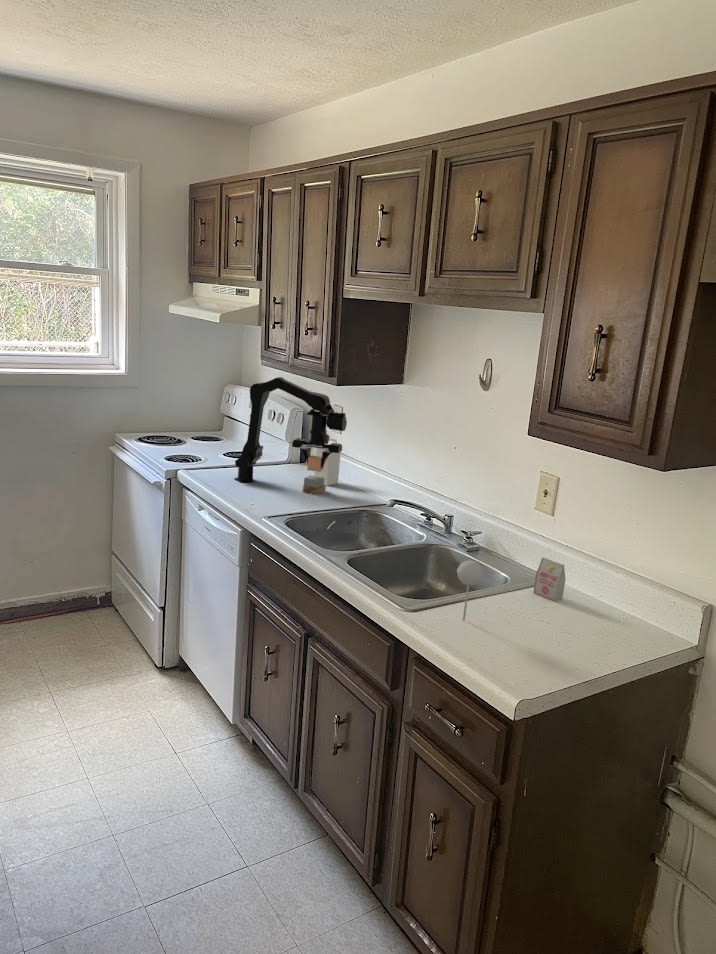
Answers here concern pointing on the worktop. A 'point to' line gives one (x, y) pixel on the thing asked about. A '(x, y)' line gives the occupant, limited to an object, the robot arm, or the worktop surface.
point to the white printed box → (550, 580)
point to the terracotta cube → (314, 463)
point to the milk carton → (329, 466)
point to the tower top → (314, 481)
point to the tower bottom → (314, 489)
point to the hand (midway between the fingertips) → (315, 467)
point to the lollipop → (469, 576)
